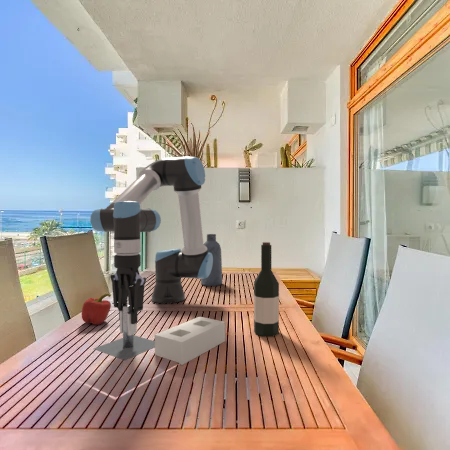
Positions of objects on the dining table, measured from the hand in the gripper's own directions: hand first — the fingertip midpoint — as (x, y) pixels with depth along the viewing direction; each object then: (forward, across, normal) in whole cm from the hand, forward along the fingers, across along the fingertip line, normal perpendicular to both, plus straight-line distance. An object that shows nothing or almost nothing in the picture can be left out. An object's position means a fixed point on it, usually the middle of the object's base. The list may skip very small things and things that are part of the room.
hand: (128, 332), depth 99 cm
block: (+4, +16, +10) cm, 19 cm away
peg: (+4, 0, 0) cm, 4 cm away
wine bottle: (+5, +28, +34) cm, 44 cm away
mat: (+4, 0, 0) cm, 4 cm away
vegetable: (+5, -28, +9) cm, 30 cm away
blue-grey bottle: (+5, -34, +87) cm, 94 cm away
